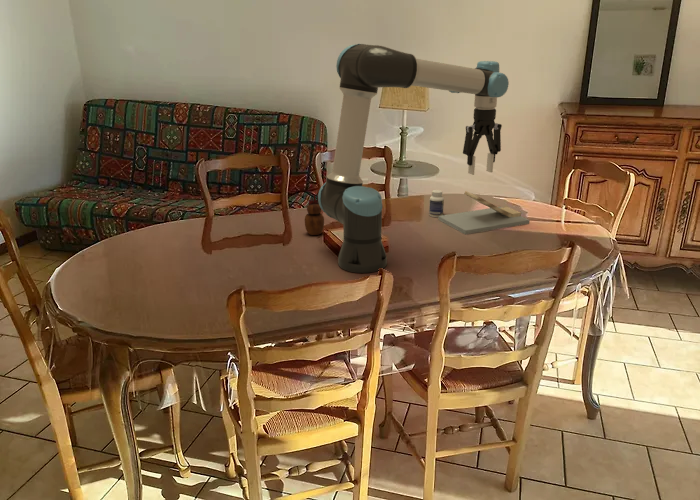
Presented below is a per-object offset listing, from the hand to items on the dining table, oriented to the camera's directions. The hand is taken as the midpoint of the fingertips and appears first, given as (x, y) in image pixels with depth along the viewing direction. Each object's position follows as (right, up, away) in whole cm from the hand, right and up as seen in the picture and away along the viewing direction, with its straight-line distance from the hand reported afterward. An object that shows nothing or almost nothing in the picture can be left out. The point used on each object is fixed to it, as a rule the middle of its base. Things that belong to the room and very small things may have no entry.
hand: (480, 172), depth 213 cm
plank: (+4, -11, +6) cm, 14 cm away
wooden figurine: (-60, -22, -3) cm, 64 cm away
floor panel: (+3, -17, +8) cm, 19 cm away
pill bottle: (-14, -15, +16) cm, 26 cm away
